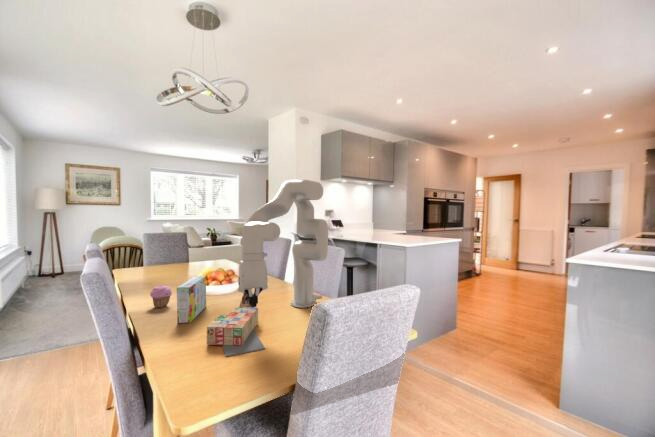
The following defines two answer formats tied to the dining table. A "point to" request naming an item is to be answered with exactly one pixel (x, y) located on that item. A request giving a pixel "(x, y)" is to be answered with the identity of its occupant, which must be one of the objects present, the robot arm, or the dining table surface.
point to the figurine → (245, 301)
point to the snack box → (191, 299)
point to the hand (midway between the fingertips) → (253, 305)
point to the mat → (245, 346)
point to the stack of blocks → (232, 327)
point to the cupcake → (161, 296)
